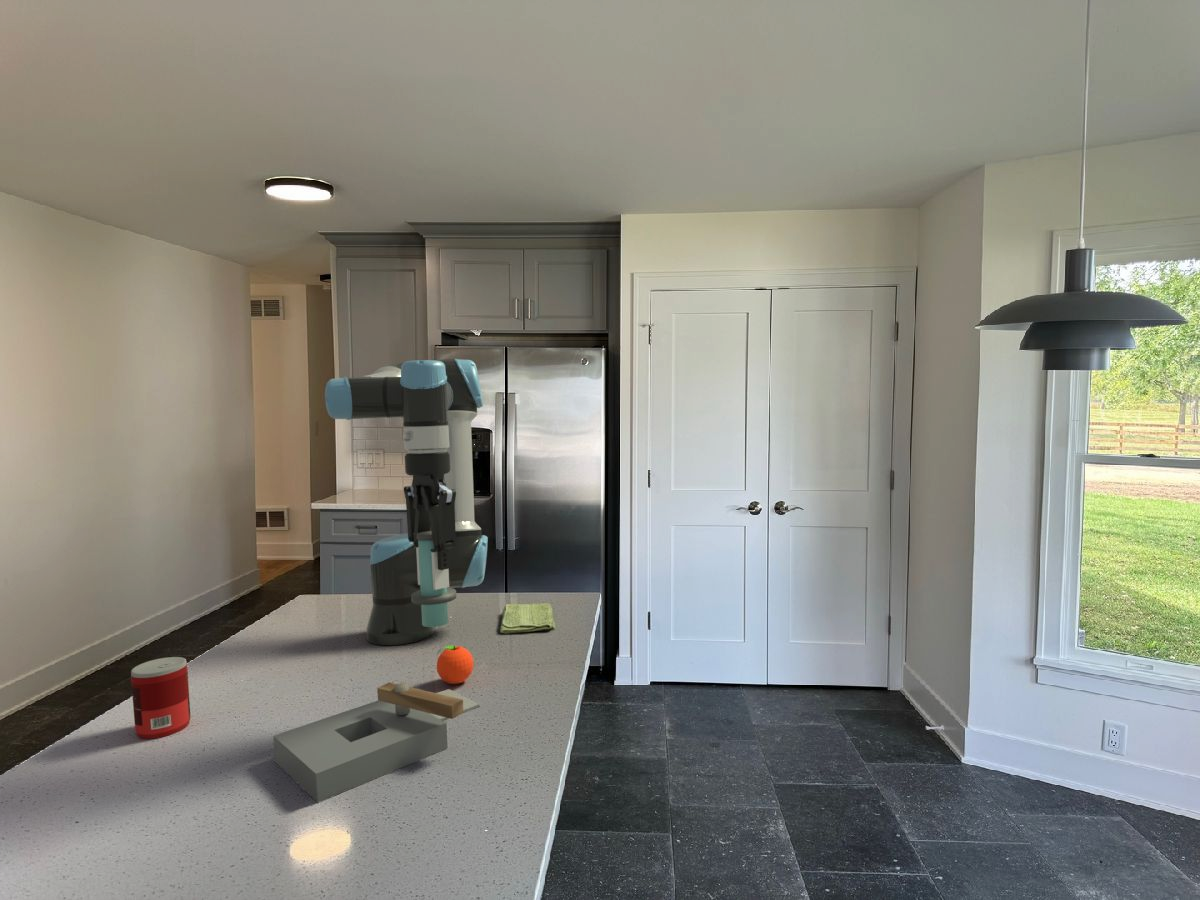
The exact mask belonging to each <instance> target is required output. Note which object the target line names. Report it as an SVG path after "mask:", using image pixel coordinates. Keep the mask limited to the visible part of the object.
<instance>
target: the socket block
mask: <svg viewBox="0 0 1200 900" xmlns="http://www.w3.org/2000/svg"><path fill="white" fill-rule="evenodd" d="M447 731H448V729H447V722H445V720H443V721H442V720H440V719H438V718H437V717H435V716H433V715H431V714H430V713H426V712H422V711H419V710H415V709H411V708H410V712H409V713H408V714H406V715H396V710H395V704H391V703H387V702H383V701H379V700H378V699H377V700H376V701H372V702H370V703H367V704H363V705H360V706H358V707H354V708H352V709H349V710H345V711H343V712H339V713H337V714H333V715H331V716H328V717H325V718H322V719H319V720H316V721H313V722H310V723H307V724H305V725H302V726H299V727H296V728H292V729H290V730H286V731H284V732H280V733H277V734H274V735H273V736H272V738H273V752H274V753H273V754H274V762H275V763H276V764H277V765H278V767H280V768H281V769H282V770H283V771H284V772H285V774H287V775H288V776H289V777H290V778H291V779H293V780H294V782H296V783H297V784H298V785H299V786H300V788H302V789H303V790H304V791H305V792H306V793H307V794H308V795H309V796H310V797H311V798H312V799H313V800H314V801H315V802H317V803H321V802H323V801H326V800H327V799H330V798H332V797H335V796H338V795H340V794H342V793H344V792H346V791H349V790H352V789H354V788H357V787H359V786H362V785H363V784H366V783H368V782H371V781H373V780H375V779H378V778H380V777H382V776H385V775H388V774H390V773H392V772H395V771H398V770H399V769H402V768H404V767H406V766H410V765H411V764H413V763H416V762H419V761H421V760H424V759H426V758H428V757H430V756H433V755H435V754H437V753H440V752H442V751H444V750H447V749H448V732H447Z"/></svg>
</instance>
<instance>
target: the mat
mask: <svg viewBox="0 0 1200 900" xmlns="http://www.w3.org/2000/svg"><path fill="white" fill-rule="evenodd" d="M436 693H437V694H441V695H445V696H450V697H454V698H458V699H463V713H462V714H464V713H467V712H469V711H471V710H473V709H476V708H479V707H480V703H477V702H475V701H474V700H471V699H470V698H469V697H466V696H464V695H463V694H460V693H459V692H456V691H454V690H452V689H450V688H447V689H445V690H444V689H443V690H442V691H438V692H436ZM431 715H433V716H435V717H437V718H438V719H440V720H442V721H446V720H447V719H449V718H446V717H442V716H438V715H434V714H431Z"/></svg>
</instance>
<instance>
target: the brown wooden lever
mask: <svg viewBox="0 0 1200 900" xmlns="http://www.w3.org/2000/svg"><path fill="white" fill-rule="evenodd" d="M376 689H377V701H378V700H379V701H383V702H387V703H391V704H395V710H396V715H406V714H408V713H409V712H410V708H411V709H415V710H419V711H422V712H426V713H430V714H434V715H438V716H442V717H446V718H448V719H452V720H453V719H455V718H457V717H458V716H460V715H461V714H464V713H463V699H458V698H454V697H450V696H445V695H441V694H437V693H438V692H432V691H427V690H423V689H419V688H414V687H410V685H409V683H406V682H402V683H394V682H387V683H385V684H382V685H380V686H378V687H377V688H376Z"/></svg>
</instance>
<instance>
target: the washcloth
mask: <svg viewBox="0 0 1200 900" xmlns="http://www.w3.org/2000/svg"><path fill="white" fill-rule="evenodd" d="M553 613H554V611H553V607H552V605H551V603H546V602H545V603H542V602H541V603H531V604H529V603H528V604H527V603H525V604H523V603H522V604H520V603H516V604H514V603H510V604H509V603H508V604H505V606H503V610H502V612H501V615H502V619H501V623H500V633H502V634H503V635H506V634H508V635H509V634H518V633H529V632H535V631H536V632H537V631H538V632H539V631H554V630H556V623H555V620H554V619H555V618H554V614H553Z"/></svg>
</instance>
